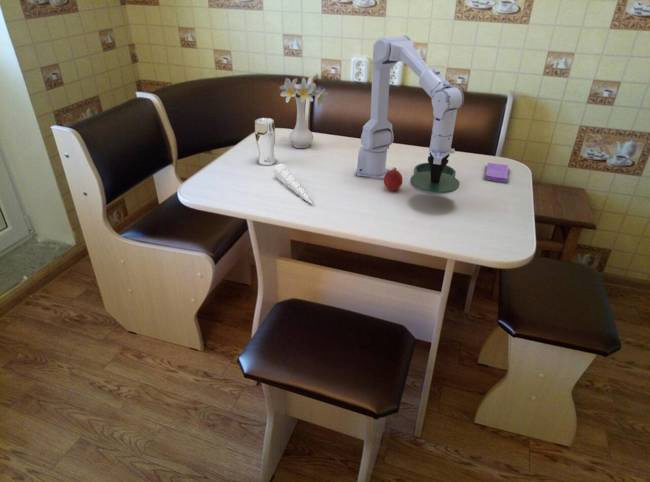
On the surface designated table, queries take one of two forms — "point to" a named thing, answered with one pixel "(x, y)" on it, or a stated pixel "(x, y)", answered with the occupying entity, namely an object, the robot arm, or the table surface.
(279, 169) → the unicorn horn
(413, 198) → the table surface
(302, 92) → the flower vase
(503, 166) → the sponge
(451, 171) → the pot
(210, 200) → the table surface
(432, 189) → the lid
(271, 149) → the beer glass
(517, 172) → the table surface
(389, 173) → the onion
